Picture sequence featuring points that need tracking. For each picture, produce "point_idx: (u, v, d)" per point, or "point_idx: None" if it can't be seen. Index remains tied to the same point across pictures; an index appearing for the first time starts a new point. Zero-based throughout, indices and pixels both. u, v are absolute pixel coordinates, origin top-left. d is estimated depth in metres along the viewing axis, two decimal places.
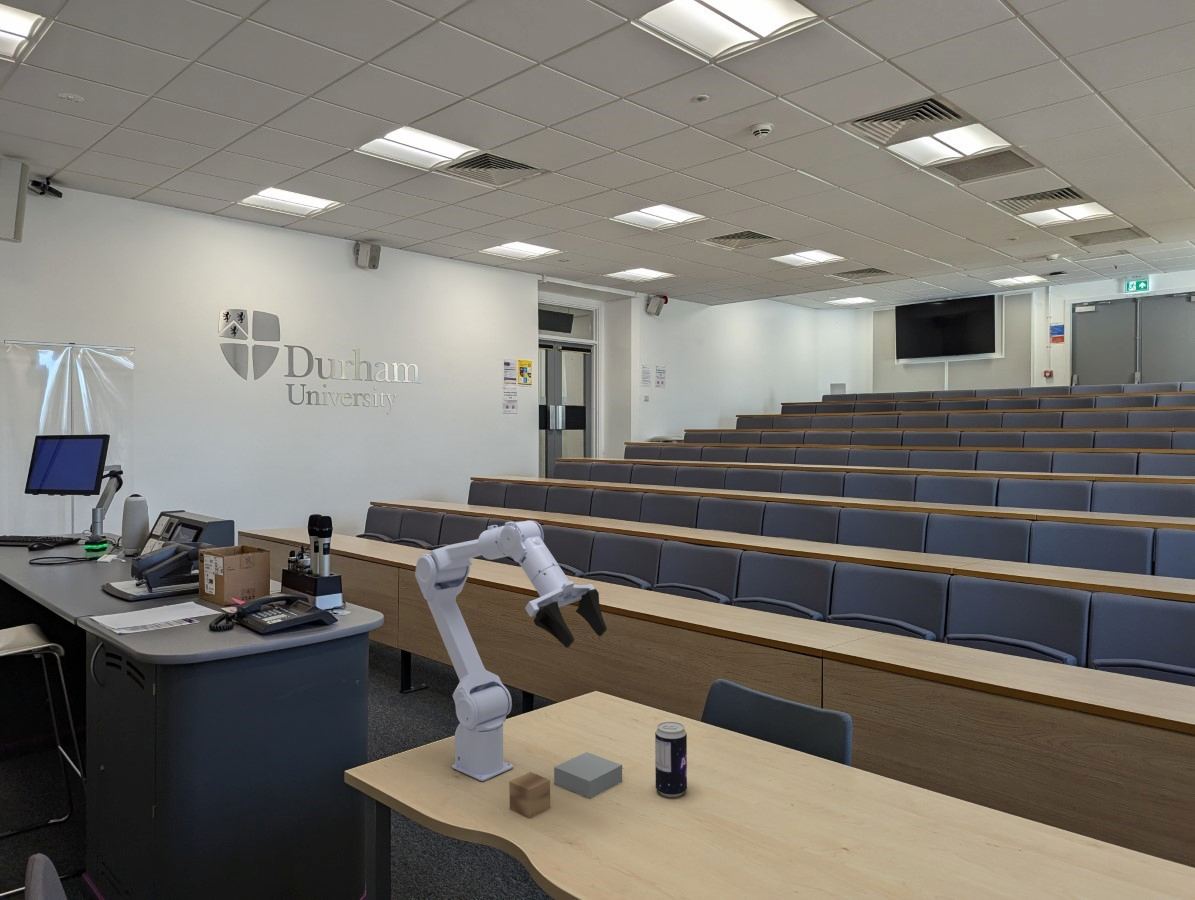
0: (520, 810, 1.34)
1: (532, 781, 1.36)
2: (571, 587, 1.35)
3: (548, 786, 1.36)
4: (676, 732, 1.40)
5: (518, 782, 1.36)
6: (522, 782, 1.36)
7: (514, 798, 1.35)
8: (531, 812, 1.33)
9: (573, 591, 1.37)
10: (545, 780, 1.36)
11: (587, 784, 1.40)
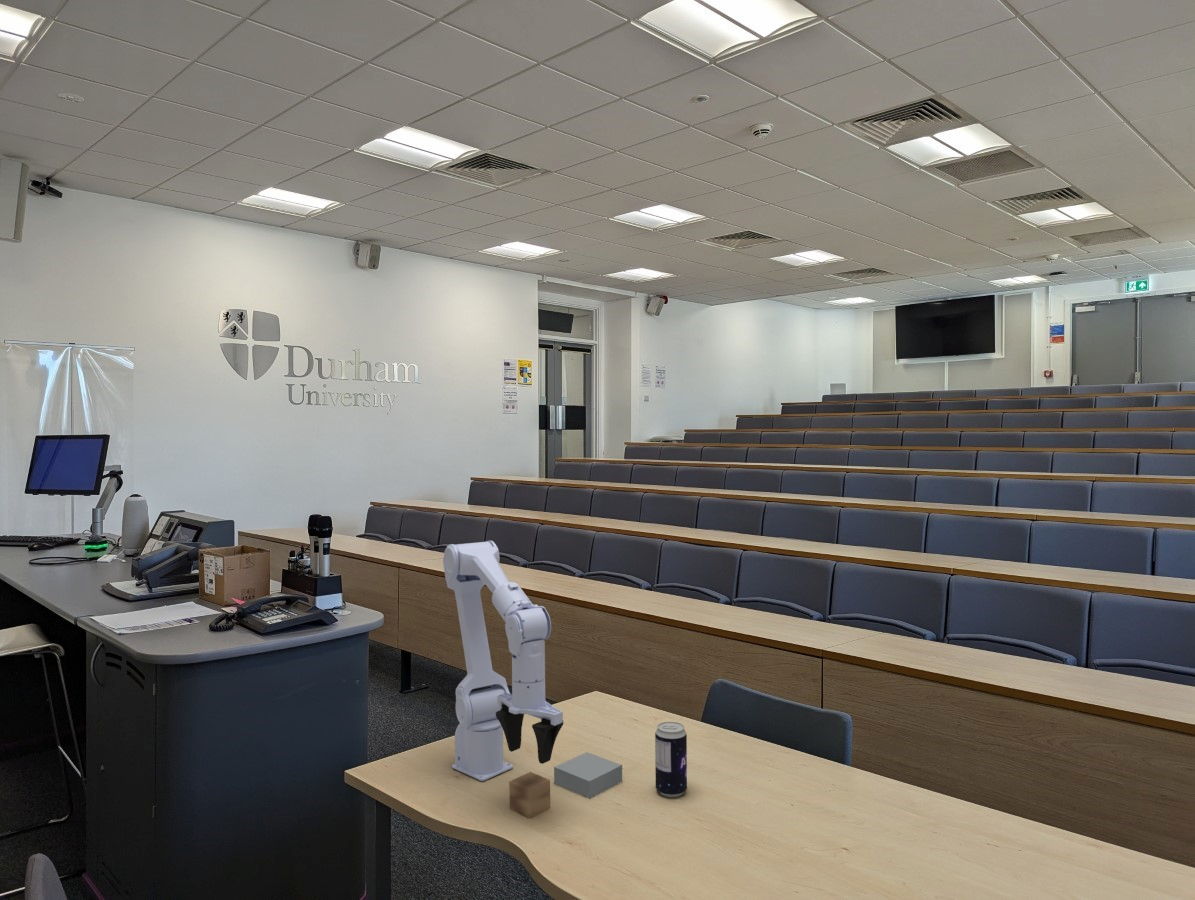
0: (520, 810, 1.34)
1: (532, 781, 1.36)
2: (518, 712, 1.33)
3: (548, 786, 1.36)
4: (676, 732, 1.40)
5: (517, 782, 1.36)
6: (522, 782, 1.36)
7: (514, 798, 1.35)
8: (531, 812, 1.33)
9: None
10: (545, 780, 1.36)
11: (587, 784, 1.40)
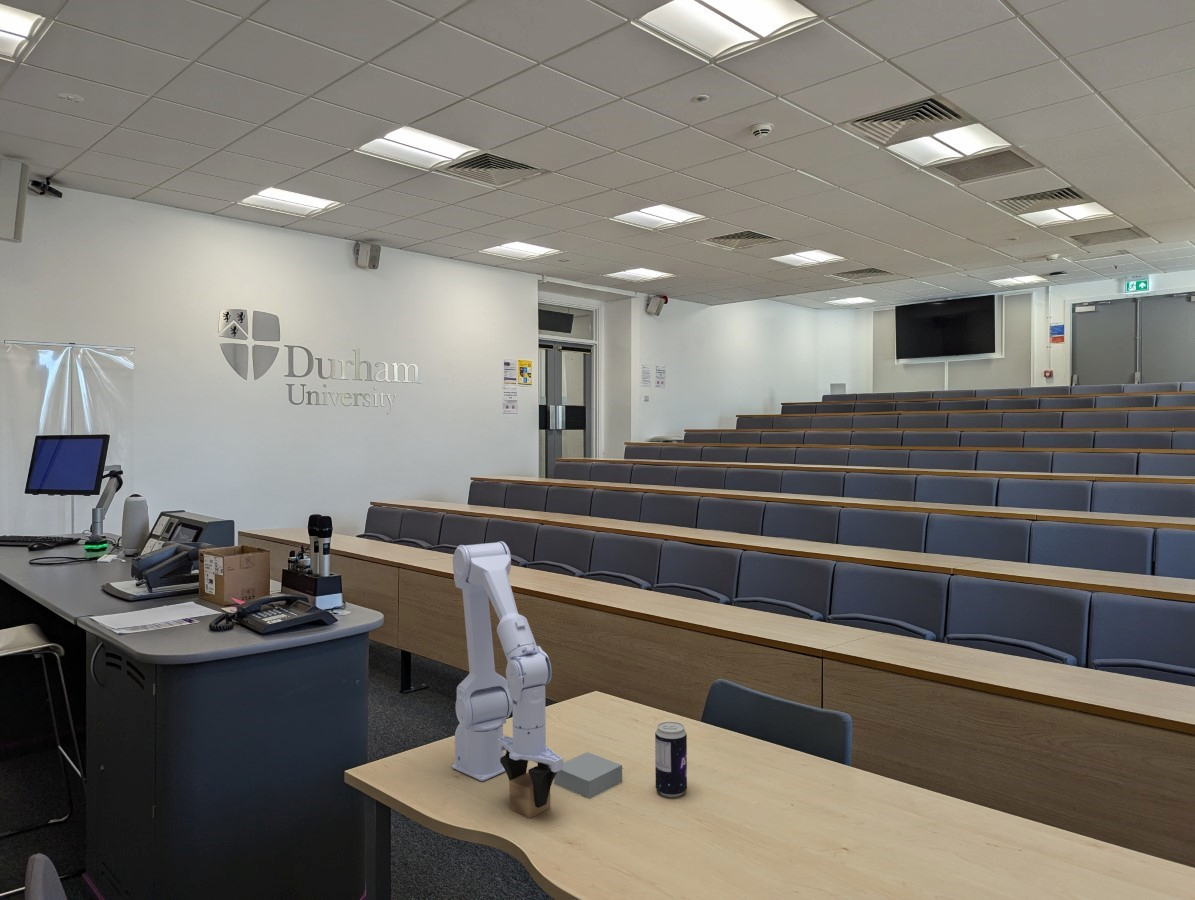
0: (520, 809, 1.34)
1: None
2: (519, 758, 1.33)
3: None
4: (676, 732, 1.40)
5: (518, 781, 1.36)
6: (522, 781, 1.36)
7: (514, 798, 1.35)
8: (531, 811, 1.33)
9: None
10: None
11: (586, 784, 1.40)
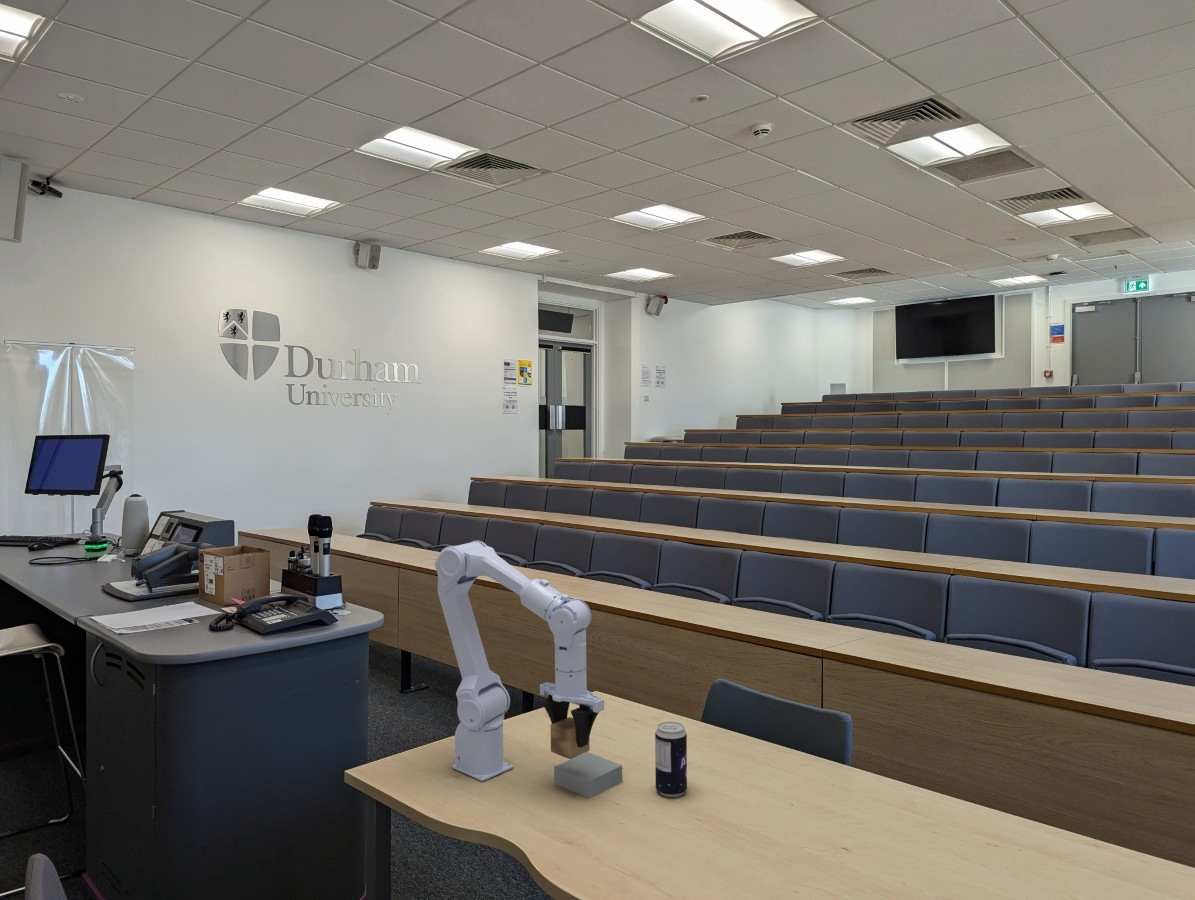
0: (561, 751, 1.41)
1: (572, 724, 1.42)
2: (561, 700, 1.40)
3: None
4: (676, 732, 1.40)
5: (558, 725, 1.42)
6: (563, 725, 1.42)
7: (555, 740, 1.42)
8: (572, 753, 1.40)
9: None
10: None
11: (586, 784, 1.40)
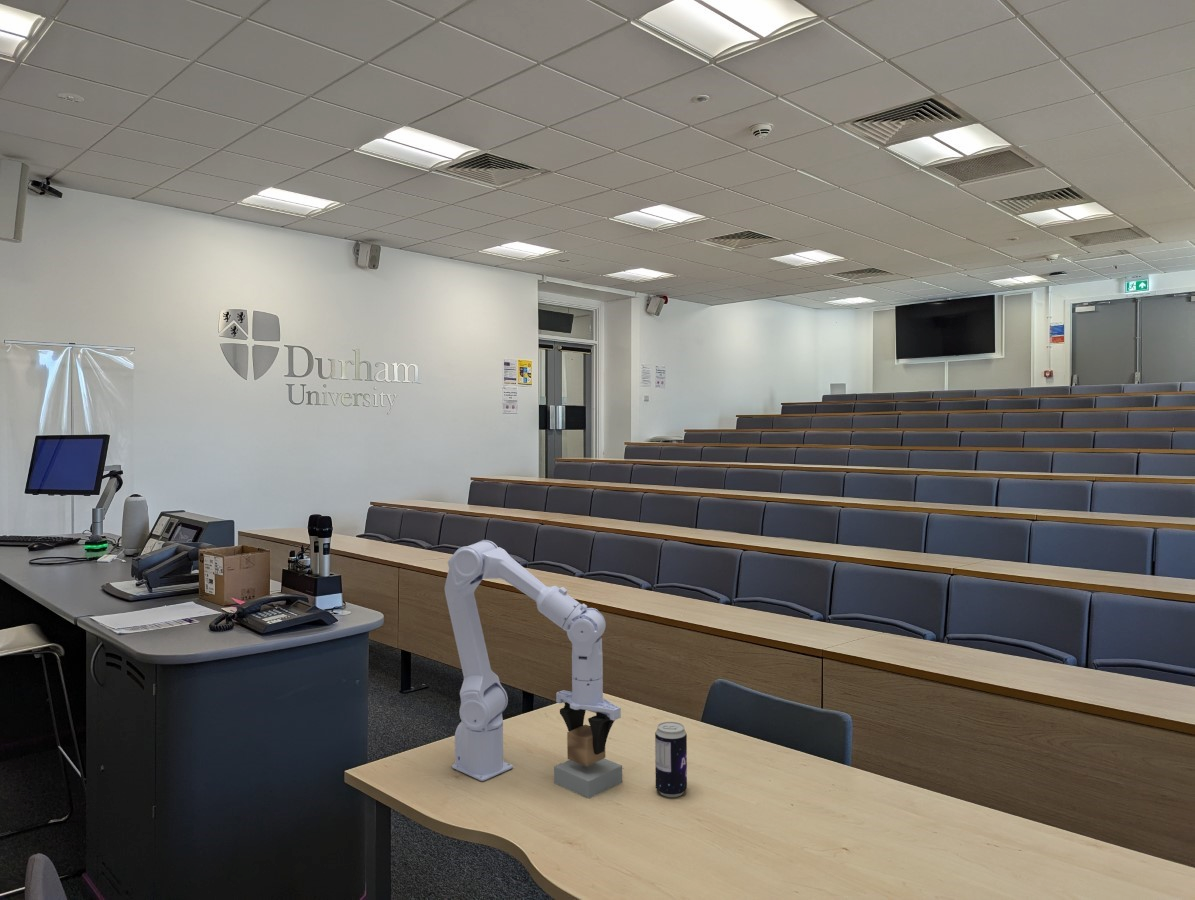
0: (578, 758, 1.44)
1: (588, 732, 1.45)
2: (579, 708, 1.43)
3: None
4: (676, 732, 1.40)
5: (575, 733, 1.45)
6: (579, 732, 1.45)
7: (572, 748, 1.45)
8: (589, 760, 1.43)
9: None
10: None
11: (586, 784, 1.40)
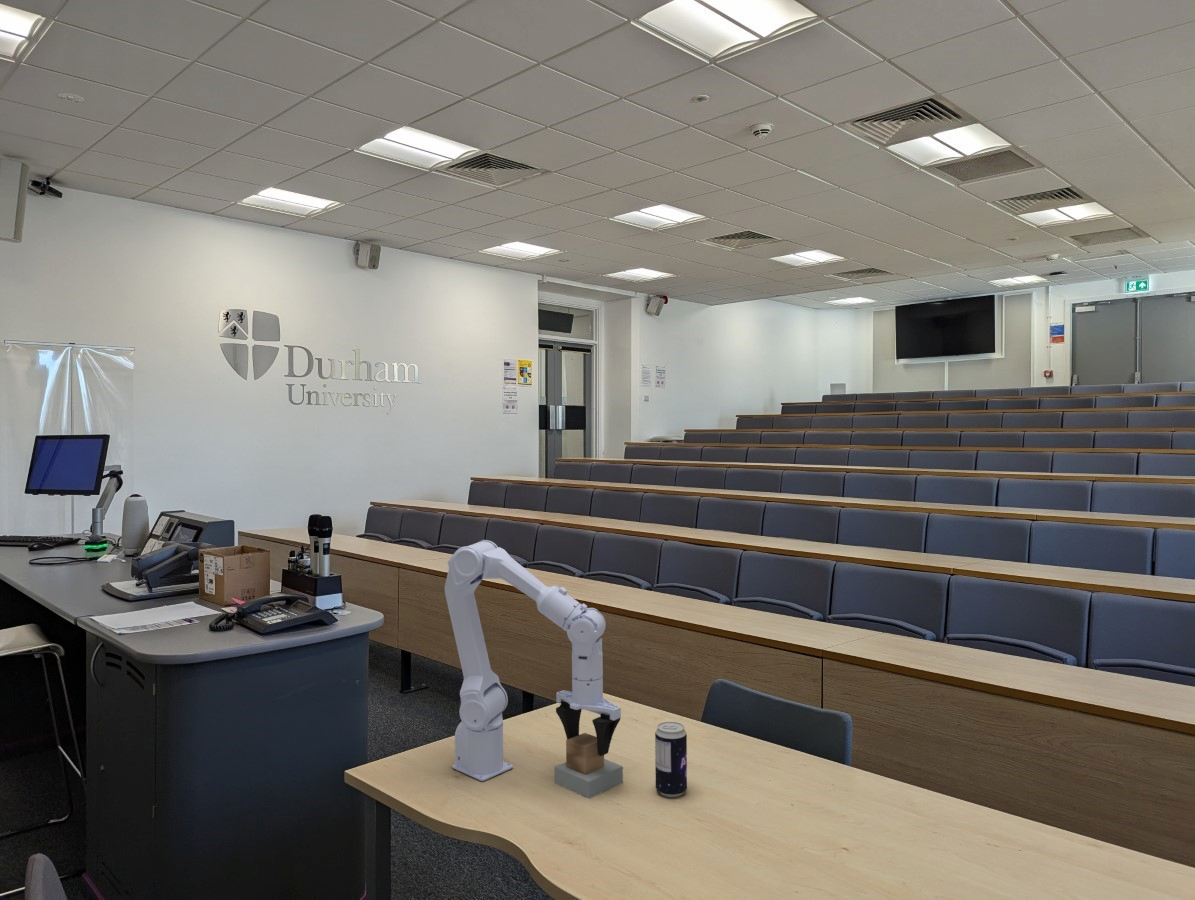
0: (576, 766, 1.44)
1: (587, 740, 1.46)
2: (579, 708, 1.43)
3: None
4: (676, 732, 1.40)
5: (574, 741, 1.45)
6: (578, 740, 1.45)
7: (570, 756, 1.45)
8: (587, 768, 1.43)
9: None
10: None
11: (586, 785, 1.40)
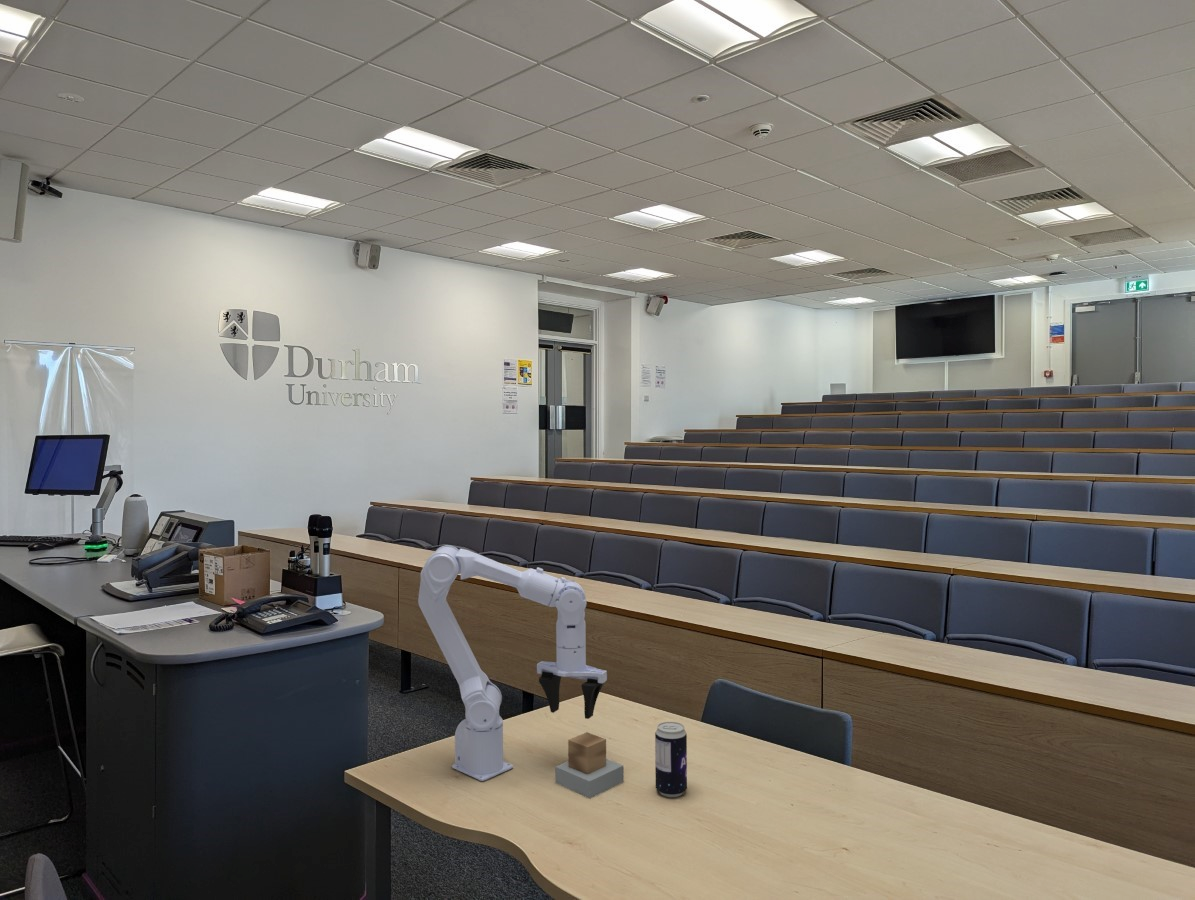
0: (578, 766, 1.44)
1: (589, 740, 1.46)
2: (566, 675, 1.50)
3: (604, 744, 1.46)
4: (676, 732, 1.40)
5: (576, 740, 1.45)
6: (580, 740, 1.46)
7: (572, 755, 1.45)
8: (589, 768, 1.43)
9: None
10: (601, 739, 1.46)
11: (587, 784, 1.40)
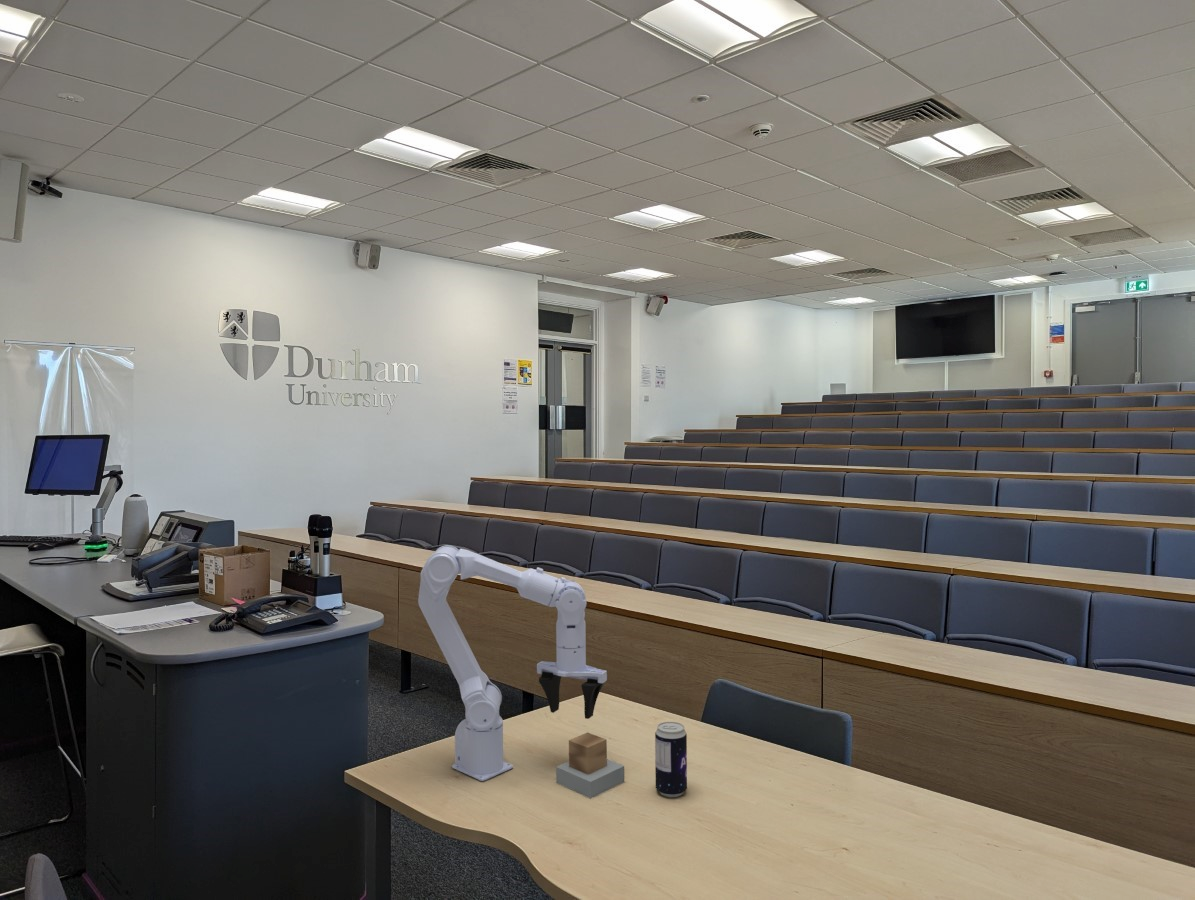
0: (579, 766, 1.44)
1: (590, 740, 1.46)
2: (566, 675, 1.50)
3: (604, 744, 1.46)
4: (676, 732, 1.40)
5: (576, 741, 1.46)
6: (581, 740, 1.46)
7: (573, 756, 1.45)
8: (589, 768, 1.43)
9: None
10: (602, 739, 1.46)
11: (588, 785, 1.40)
